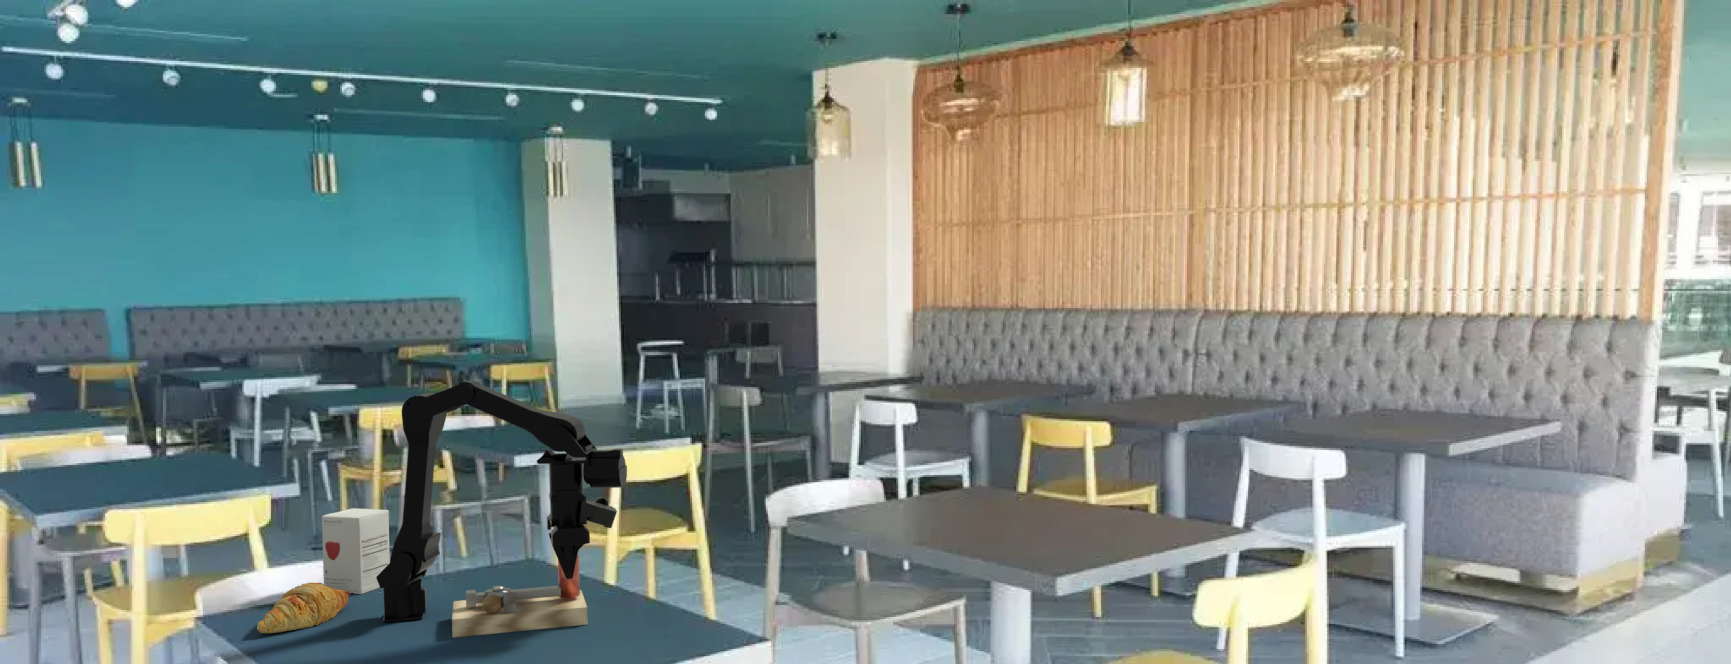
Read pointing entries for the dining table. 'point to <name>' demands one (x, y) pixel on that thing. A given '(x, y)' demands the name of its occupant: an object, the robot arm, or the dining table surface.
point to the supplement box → (355, 549)
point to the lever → (533, 589)
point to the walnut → (492, 603)
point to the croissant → (303, 608)
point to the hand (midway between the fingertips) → (568, 576)
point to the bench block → (519, 615)
